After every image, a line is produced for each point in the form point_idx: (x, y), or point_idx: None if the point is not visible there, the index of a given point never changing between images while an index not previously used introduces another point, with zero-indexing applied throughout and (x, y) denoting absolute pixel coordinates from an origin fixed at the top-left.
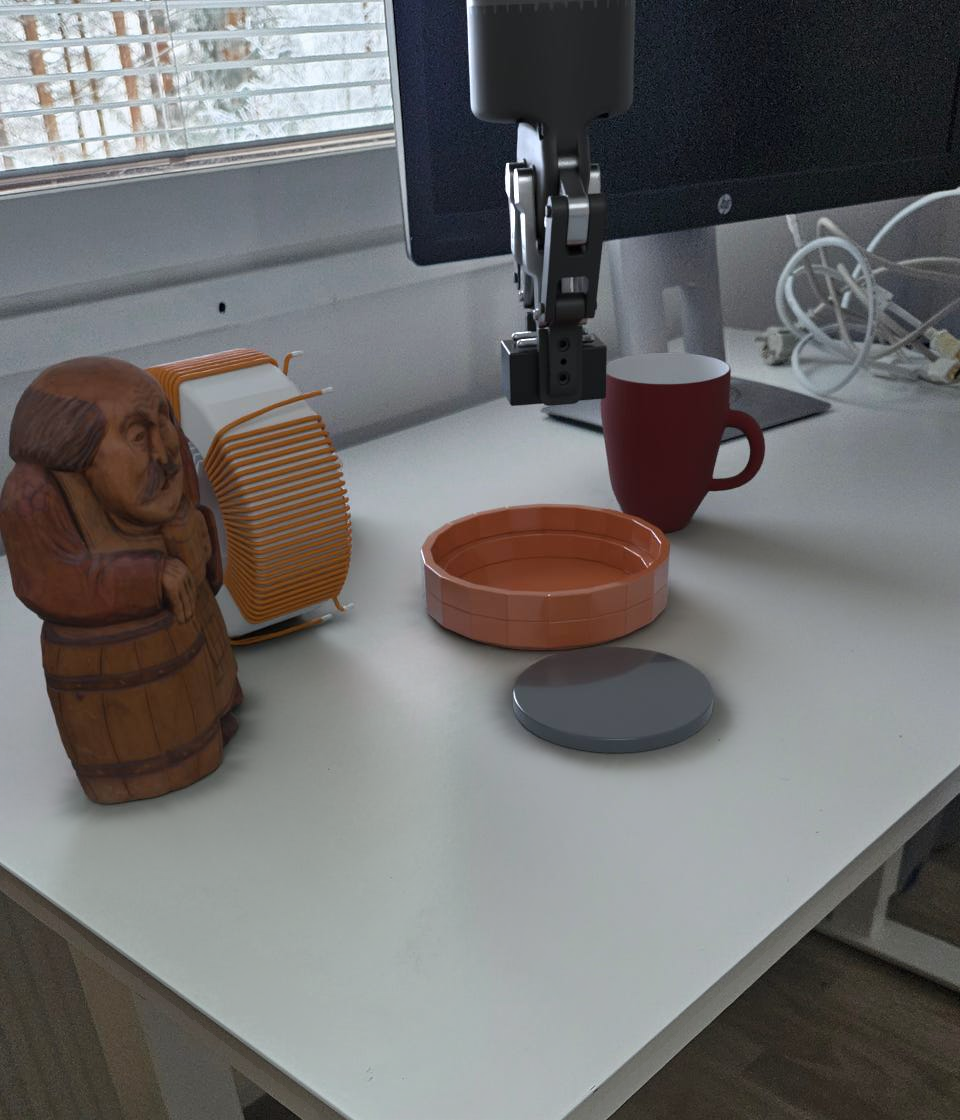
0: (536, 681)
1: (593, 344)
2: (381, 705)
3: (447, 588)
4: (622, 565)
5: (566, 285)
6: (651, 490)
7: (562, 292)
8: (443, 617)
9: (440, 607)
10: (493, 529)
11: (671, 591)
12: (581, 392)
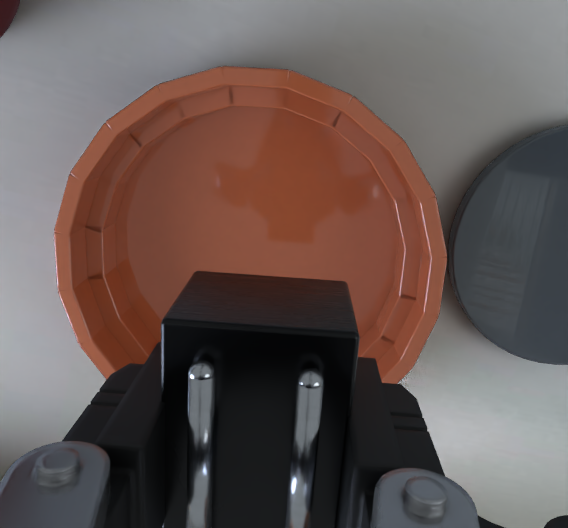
0: (521, 331)
1: (319, 367)
2: (472, 478)
3: None
4: (190, 119)
5: (98, 520)
6: (5, 11)
7: (105, 513)
8: None
9: None
10: (93, 306)
11: (261, 58)
12: (376, 363)
